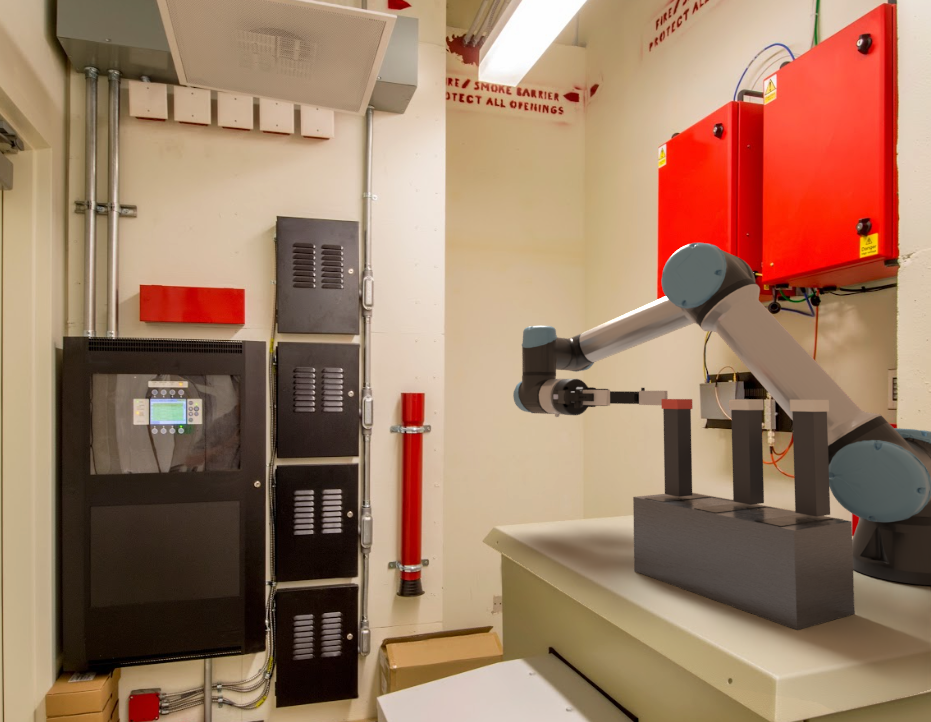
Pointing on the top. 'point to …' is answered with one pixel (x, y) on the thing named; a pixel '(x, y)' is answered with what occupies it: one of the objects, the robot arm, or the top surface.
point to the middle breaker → (747, 450)
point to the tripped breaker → (677, 446)
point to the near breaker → (811, 457)
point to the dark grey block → (748, 556)
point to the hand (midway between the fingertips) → (638, 397)
